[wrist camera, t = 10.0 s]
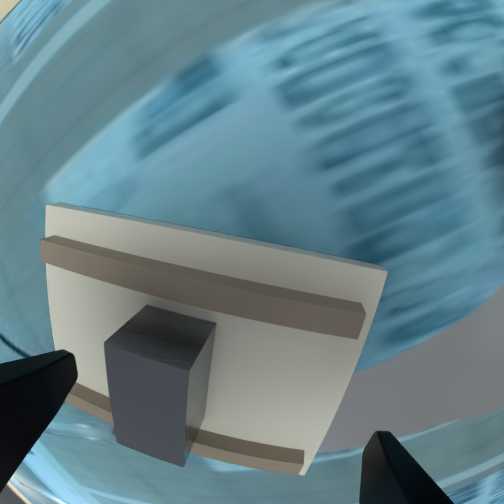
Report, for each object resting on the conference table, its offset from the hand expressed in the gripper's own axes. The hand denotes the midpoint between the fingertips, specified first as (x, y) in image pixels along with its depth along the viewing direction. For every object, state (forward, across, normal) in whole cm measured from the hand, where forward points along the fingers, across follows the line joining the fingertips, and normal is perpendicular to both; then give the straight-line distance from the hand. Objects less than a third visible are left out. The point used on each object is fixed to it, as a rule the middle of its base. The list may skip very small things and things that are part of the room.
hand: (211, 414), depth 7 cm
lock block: (+10, +4, +7) cm, 12 cm away
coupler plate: (+11, +4, +7) cm, 13 cm away
